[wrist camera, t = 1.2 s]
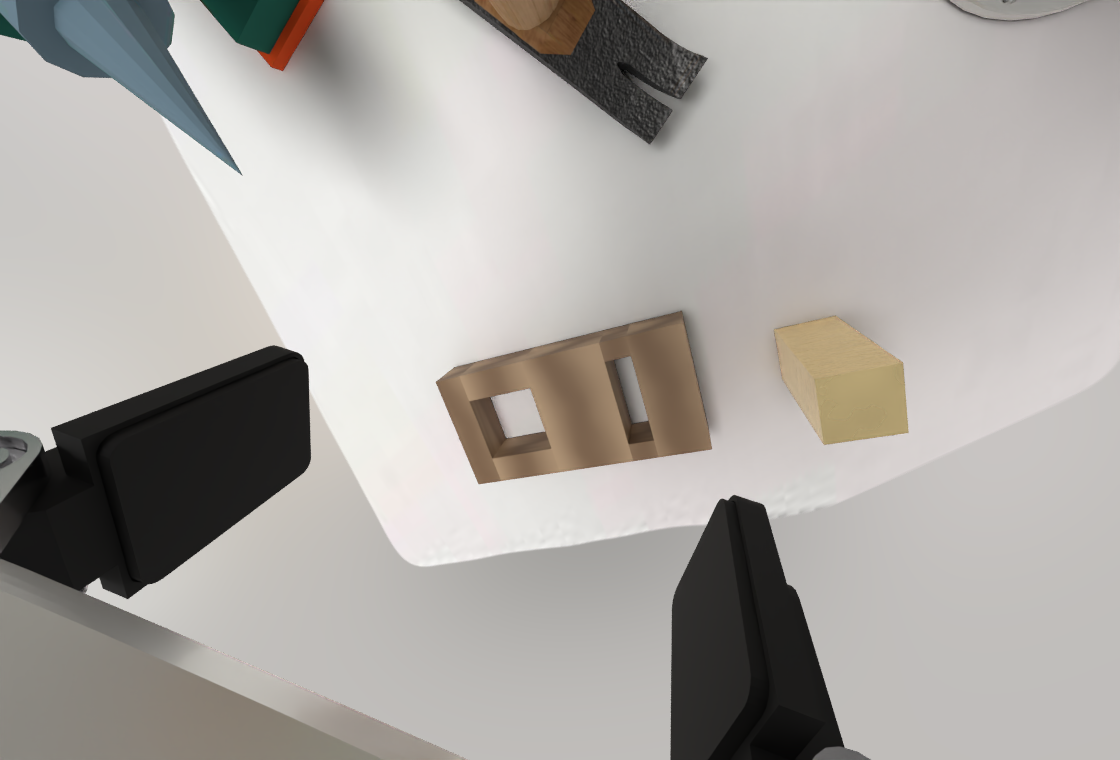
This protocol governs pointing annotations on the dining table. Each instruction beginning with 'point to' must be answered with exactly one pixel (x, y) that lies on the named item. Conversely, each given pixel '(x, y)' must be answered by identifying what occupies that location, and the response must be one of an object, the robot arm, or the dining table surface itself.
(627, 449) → the block
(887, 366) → the square bit
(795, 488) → the dining table surface
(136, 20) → the power tool
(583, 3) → the hammer
